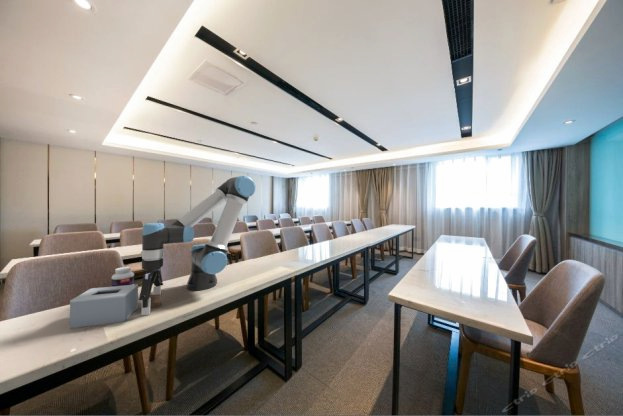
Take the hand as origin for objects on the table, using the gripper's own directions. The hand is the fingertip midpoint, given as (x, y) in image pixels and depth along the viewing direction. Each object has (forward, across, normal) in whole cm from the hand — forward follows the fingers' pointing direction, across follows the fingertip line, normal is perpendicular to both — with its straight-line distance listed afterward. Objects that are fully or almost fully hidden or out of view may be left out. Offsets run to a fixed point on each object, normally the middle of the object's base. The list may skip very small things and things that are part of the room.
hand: (151, 307), depth 94 cm
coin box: (0, +4, -14) cm, 14 cm away
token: (0, 0, 0) cm, 0 cm away
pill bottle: (0, -14, -16) cm, 21 cm away
